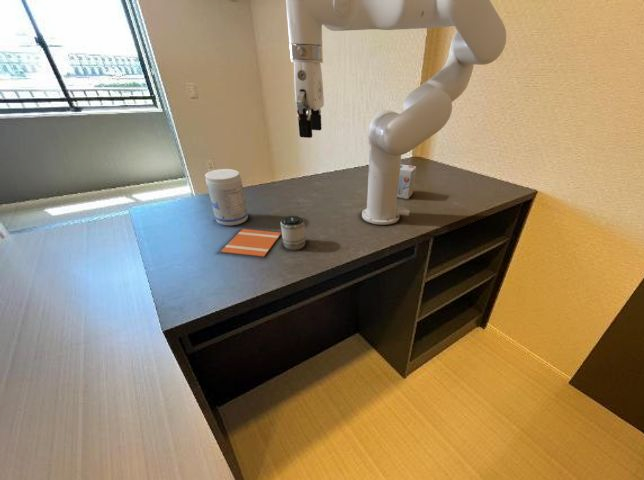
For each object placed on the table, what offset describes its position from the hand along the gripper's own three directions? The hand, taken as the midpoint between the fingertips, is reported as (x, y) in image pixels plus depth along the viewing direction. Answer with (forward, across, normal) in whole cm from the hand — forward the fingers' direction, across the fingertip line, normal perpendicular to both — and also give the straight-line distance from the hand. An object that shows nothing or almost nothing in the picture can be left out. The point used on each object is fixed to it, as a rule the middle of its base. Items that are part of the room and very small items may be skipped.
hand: (311, 133), depth 80 cm
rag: (+26, -16, +14) cm, 34 cm away
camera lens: (+26, -15, +2) cm, 30 cm away
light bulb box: (+26, +30, -25) cm, 47 cm away
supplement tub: (+26, -4, +26) cm, 37 cm away
